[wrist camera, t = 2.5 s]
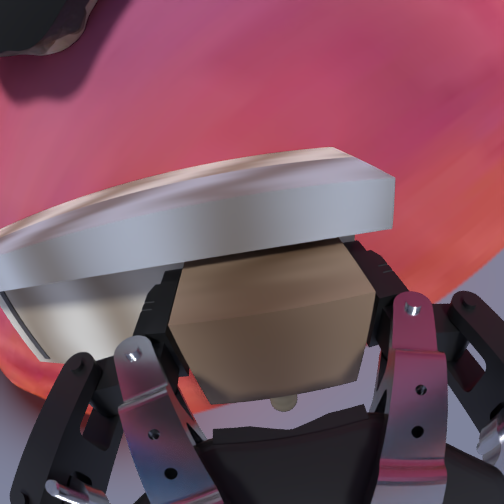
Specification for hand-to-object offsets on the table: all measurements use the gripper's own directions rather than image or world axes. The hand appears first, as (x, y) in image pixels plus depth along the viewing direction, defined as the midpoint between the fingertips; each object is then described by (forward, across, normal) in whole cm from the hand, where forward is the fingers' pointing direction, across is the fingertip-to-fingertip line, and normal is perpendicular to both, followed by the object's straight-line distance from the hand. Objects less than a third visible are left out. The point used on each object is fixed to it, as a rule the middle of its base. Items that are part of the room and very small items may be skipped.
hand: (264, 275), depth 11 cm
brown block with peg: (+1, 0, +2) cm, 2 cm away
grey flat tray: (+3, +7, +1) cm, 8 cm away
